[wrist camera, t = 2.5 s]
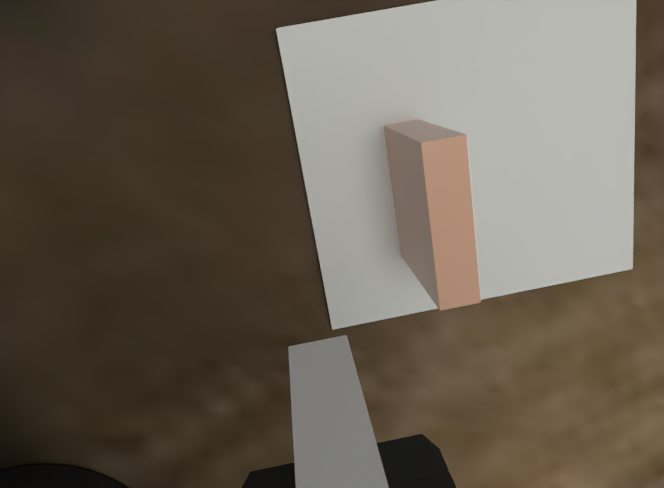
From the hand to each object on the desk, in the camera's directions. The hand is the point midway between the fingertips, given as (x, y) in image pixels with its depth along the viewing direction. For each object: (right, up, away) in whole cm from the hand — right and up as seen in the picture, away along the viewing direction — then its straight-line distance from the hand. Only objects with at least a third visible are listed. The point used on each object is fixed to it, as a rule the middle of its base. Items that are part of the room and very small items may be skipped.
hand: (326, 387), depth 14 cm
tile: (+5, +7, +18) cm, 20 cm away
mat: (+8, +9, +18) cm, 22 cm away
